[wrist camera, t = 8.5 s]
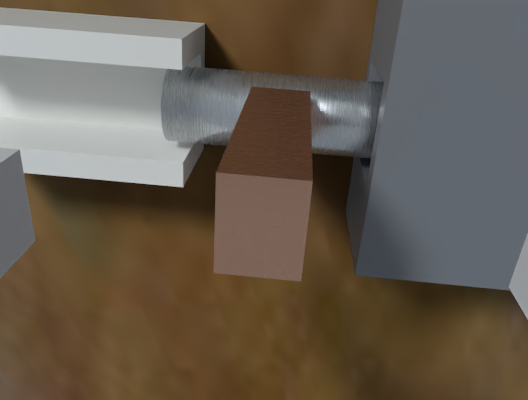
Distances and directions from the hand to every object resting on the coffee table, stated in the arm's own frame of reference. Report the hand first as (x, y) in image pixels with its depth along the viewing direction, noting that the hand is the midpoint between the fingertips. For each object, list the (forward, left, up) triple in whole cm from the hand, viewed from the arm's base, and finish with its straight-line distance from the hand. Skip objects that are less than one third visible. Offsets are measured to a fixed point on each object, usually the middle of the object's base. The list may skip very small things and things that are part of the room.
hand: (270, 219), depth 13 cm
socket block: (0, +8, -14) cm, 16 cm away
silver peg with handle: (0, +3, -12) cm, 13 cm away
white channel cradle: (0, -10, -14) cm, 17 cm away
